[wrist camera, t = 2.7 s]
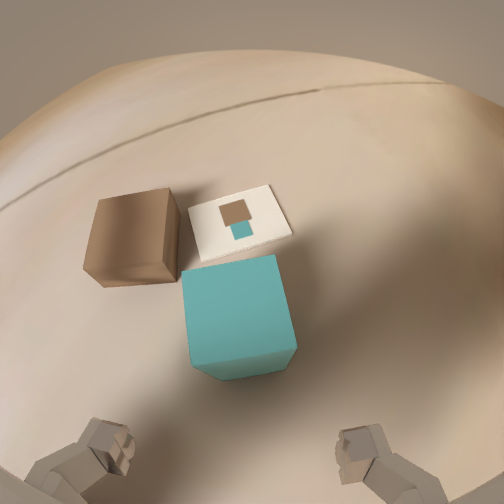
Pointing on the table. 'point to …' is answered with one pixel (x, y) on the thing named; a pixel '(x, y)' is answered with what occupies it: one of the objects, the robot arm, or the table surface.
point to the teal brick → (238, 319)
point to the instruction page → (237, 223)
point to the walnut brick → (134, 240)
